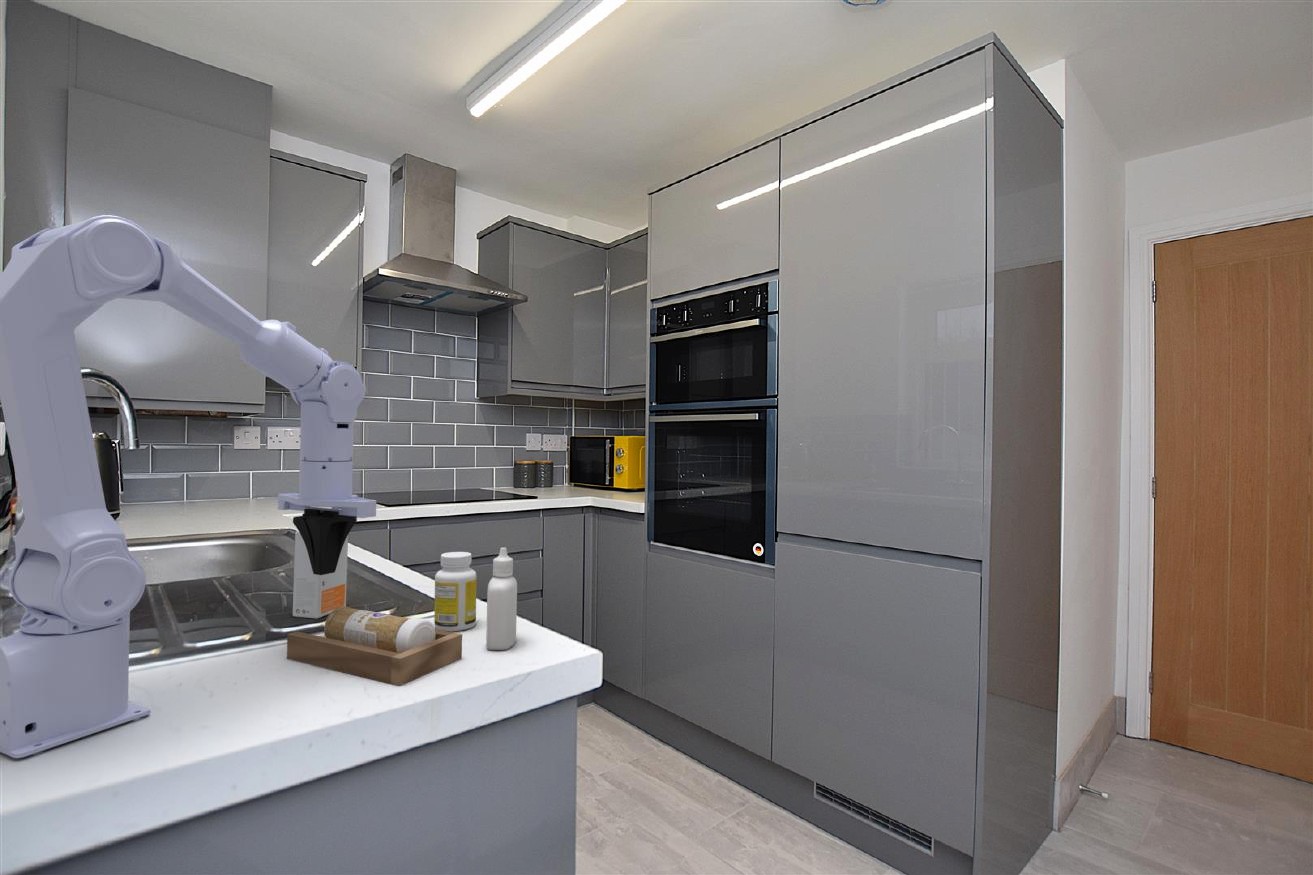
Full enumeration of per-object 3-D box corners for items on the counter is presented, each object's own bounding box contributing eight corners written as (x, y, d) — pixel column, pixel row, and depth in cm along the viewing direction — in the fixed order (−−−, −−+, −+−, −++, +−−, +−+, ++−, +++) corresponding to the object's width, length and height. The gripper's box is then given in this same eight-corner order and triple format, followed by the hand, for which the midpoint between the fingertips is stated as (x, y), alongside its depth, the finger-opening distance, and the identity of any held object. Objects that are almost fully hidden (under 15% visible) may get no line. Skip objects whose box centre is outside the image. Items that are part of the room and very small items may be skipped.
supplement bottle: (469, 618, 92) (471, 549, 92) (480, 629, 87) (482, 556, 87) (430, 623, 89) (431, 552, 89) (439, 634, 84) (440, 559, 84)
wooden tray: (399, 685, 67) (400, 658, 67) (286, 658, 74) (287, 634, 74) (461, 658, 76) (462, 634, 76) (355, 636, 83) (355, 614, 83)
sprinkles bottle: (350, 599, 81) (434, 612, 76) (356, 633, 82) (440, 648, 76) (318, 616, 77) (405, 631, 71) (325, 651, 78) (411, 668, 72)
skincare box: (318, 619, 90) (320, 532, 90) (291, 617, 91) (293, 531, 91) (347, 608, 96) (349, 526, 96) (322, 606, 97) (324, 525, 97)
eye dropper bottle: (471, 647, 80) (474, 549, 80) (503, 635, 85) (505, 543, 85) (499, 653, 78) (501, 553, 78) (529, 640, 83) (531, 546, 83)
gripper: (397, 462, 79) (394, 573, 79) (314, 457, 85) (312, 561, 85) (348, 463, 73) (345, 585, 73) (262, 459, 79) (260, 571, 79)
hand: (324, 573), depth 79 cm, fingers closed
